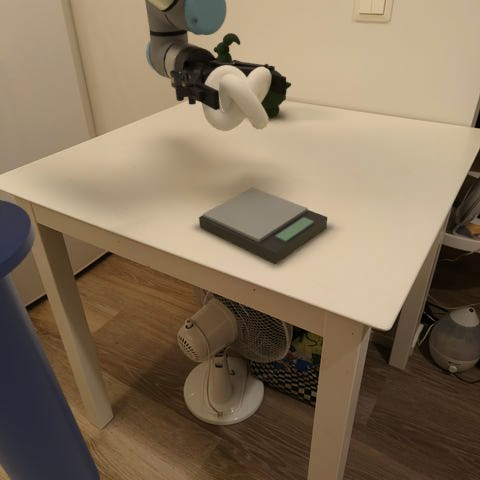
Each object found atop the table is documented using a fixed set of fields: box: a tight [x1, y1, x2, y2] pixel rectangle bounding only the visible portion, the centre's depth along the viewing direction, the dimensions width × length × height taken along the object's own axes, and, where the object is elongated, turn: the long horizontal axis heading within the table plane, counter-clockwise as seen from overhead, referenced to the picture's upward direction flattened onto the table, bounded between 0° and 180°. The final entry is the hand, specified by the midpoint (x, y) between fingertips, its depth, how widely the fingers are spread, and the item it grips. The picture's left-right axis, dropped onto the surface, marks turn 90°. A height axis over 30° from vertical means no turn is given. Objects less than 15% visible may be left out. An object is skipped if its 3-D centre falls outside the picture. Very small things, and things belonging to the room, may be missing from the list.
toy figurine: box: [213, 32, 292, 119], centre depth 114 cm, size 9×19×25 cm
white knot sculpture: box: [201, 65, 271, 132], centre depth 75 cm, size 11×12×9 cm
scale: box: [198, 186, 328, 265], centre depth 72 cm, size 16×13×3 cm
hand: (251, 93), depth 71 cm, fingers closed on white knot sculpture, 12 cm apart
